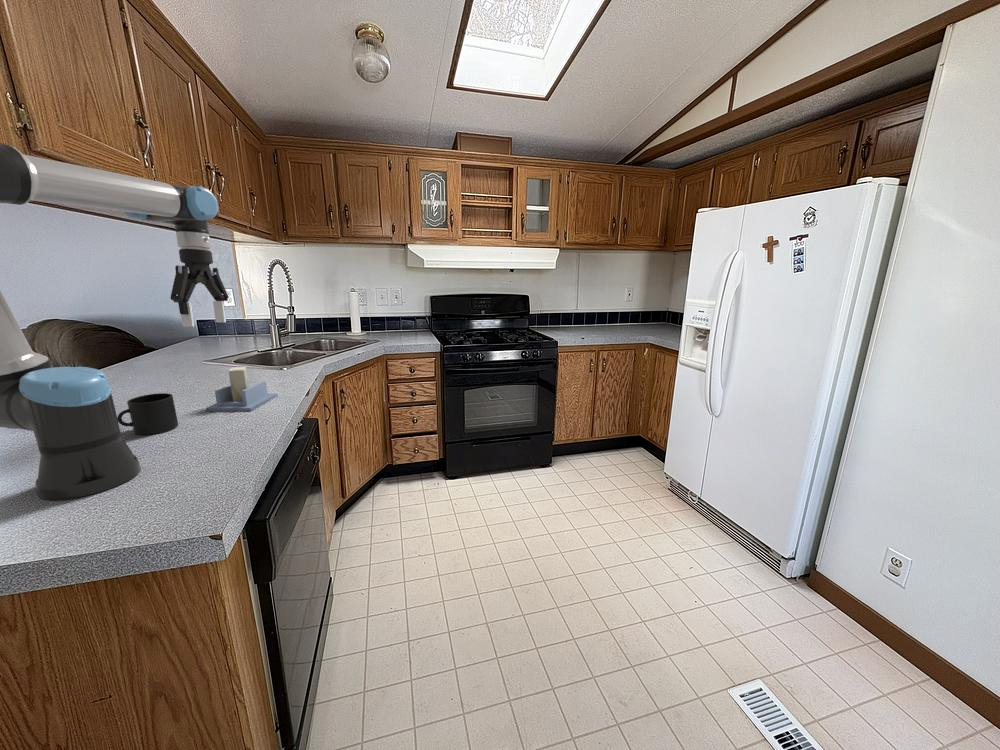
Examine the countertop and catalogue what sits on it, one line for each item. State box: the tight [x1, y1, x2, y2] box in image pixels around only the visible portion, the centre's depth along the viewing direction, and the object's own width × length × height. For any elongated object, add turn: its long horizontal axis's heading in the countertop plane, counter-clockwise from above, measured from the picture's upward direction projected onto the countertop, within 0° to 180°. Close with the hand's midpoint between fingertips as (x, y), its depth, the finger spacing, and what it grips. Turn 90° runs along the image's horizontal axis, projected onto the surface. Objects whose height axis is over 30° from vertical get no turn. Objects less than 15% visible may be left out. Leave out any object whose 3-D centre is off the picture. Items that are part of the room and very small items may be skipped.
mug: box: [117, 392, 179, 436], centre depth 109 cm, size 9×12×9 cm
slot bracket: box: [205, 380, 279, 412], centre depth 133 cm, size 16×14×6 cm
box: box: [228, 366, 250, 402], centre depth 132 cm, size 5×4×11 cm
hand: (205, 324), depth 118 cm, fingers open, 13 cm apart
